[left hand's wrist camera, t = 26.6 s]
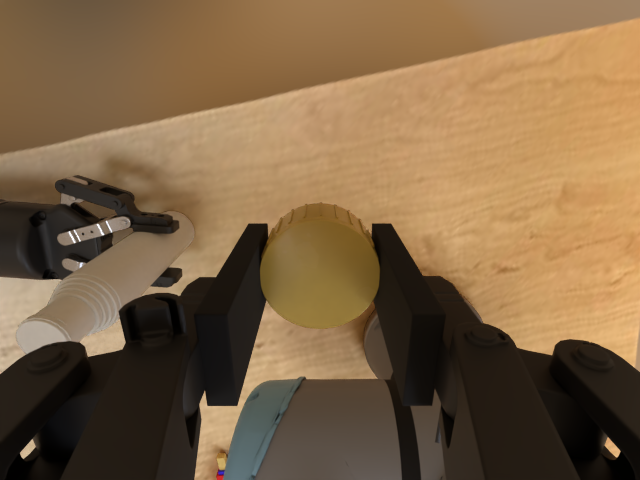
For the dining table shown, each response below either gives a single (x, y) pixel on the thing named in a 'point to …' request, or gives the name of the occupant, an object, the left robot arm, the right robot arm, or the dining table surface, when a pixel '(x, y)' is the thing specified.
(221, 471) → the toy figure
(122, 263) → the bottle
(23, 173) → the dining table surface
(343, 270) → the cap
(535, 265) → the dining table surface
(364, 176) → the dining table surface
